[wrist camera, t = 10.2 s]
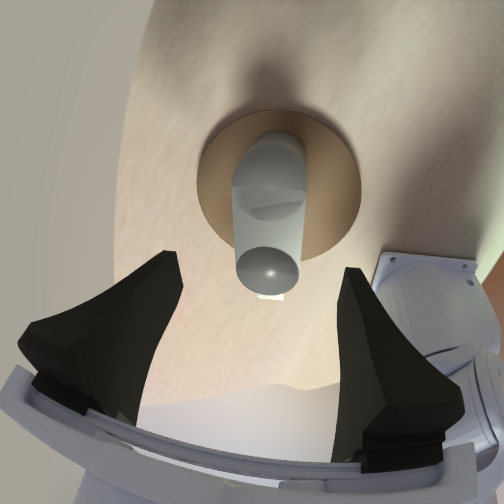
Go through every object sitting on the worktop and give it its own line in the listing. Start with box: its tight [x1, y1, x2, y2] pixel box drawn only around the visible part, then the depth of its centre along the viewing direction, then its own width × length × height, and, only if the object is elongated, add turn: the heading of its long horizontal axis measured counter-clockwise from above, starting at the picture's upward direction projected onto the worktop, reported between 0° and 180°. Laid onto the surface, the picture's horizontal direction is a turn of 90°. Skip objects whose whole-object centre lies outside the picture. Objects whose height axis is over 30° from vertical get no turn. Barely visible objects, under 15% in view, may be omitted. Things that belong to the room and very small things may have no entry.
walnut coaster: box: [197, 110, 361, 261], centre depth 19 cm, size 11×11×1 cm
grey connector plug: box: [231, 130, 307, 300], centre depth 17 cm, size 11×4×5 cm, turn 1°
